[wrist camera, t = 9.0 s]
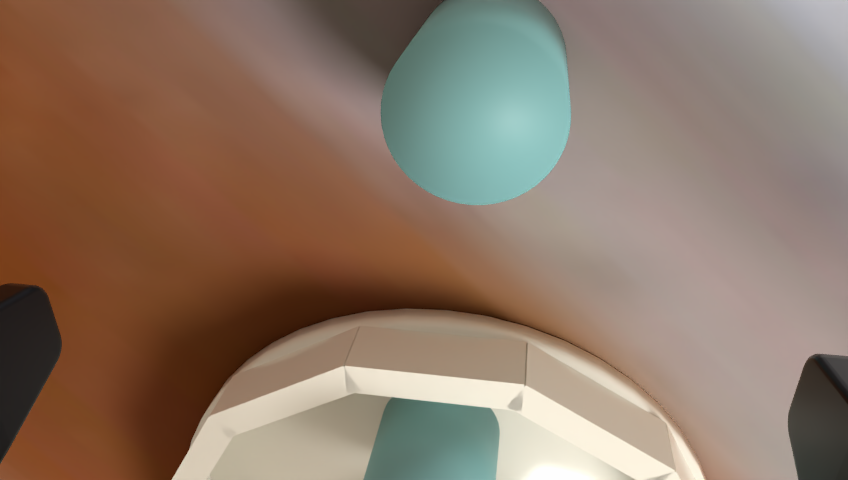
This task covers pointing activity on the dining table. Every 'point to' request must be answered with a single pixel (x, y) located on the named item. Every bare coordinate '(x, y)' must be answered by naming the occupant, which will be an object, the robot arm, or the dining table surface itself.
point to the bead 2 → (434, 442)
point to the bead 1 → (479, 100)
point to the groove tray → (438, 382)
